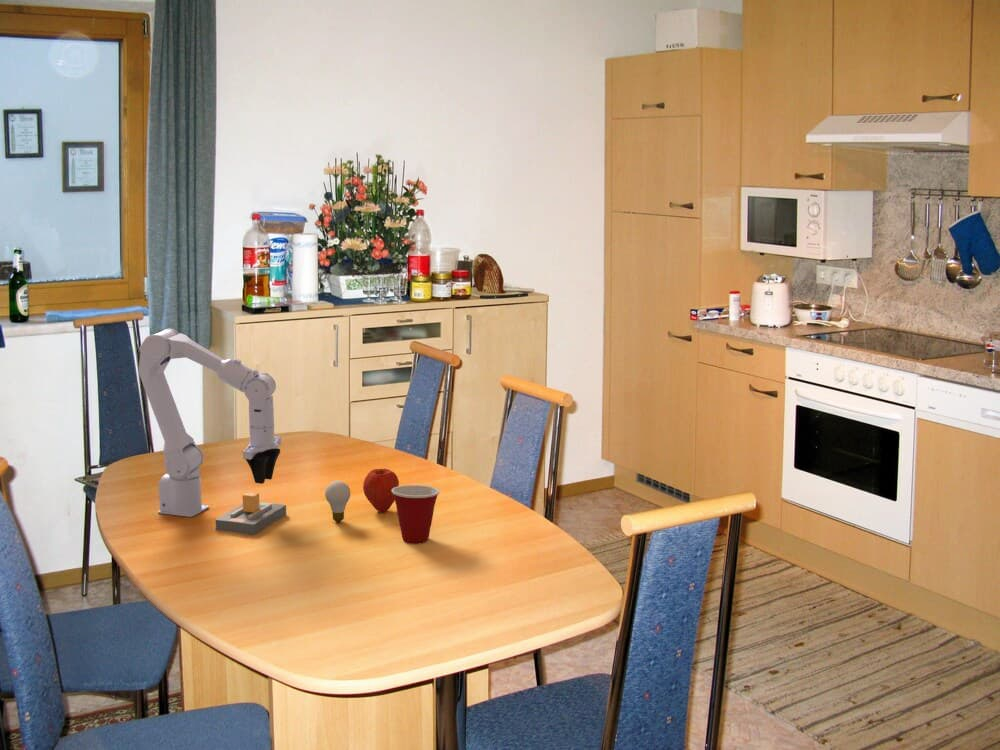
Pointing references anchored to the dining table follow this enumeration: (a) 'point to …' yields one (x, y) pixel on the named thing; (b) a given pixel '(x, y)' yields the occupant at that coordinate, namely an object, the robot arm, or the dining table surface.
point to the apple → (380, 488)
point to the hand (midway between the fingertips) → (263, 480)
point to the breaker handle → (251, 502)
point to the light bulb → (337, 498)
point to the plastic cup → (415, 511)
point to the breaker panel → (251, 518)
